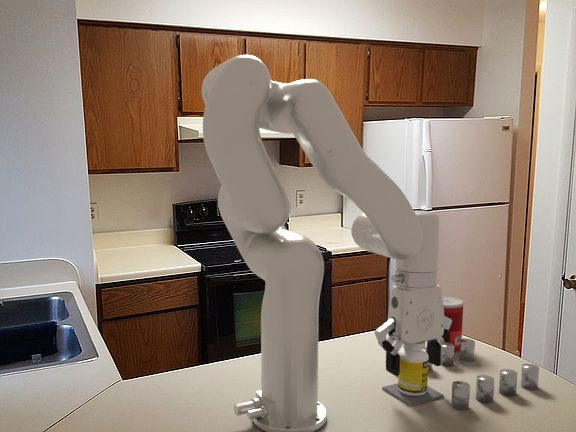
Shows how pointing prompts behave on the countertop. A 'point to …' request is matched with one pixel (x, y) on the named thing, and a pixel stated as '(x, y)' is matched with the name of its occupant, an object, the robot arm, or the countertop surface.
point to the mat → (413, 400)
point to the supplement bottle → (413, 370)
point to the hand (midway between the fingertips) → (413, 368)
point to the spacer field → (484, 377)
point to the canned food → (454, 320)
